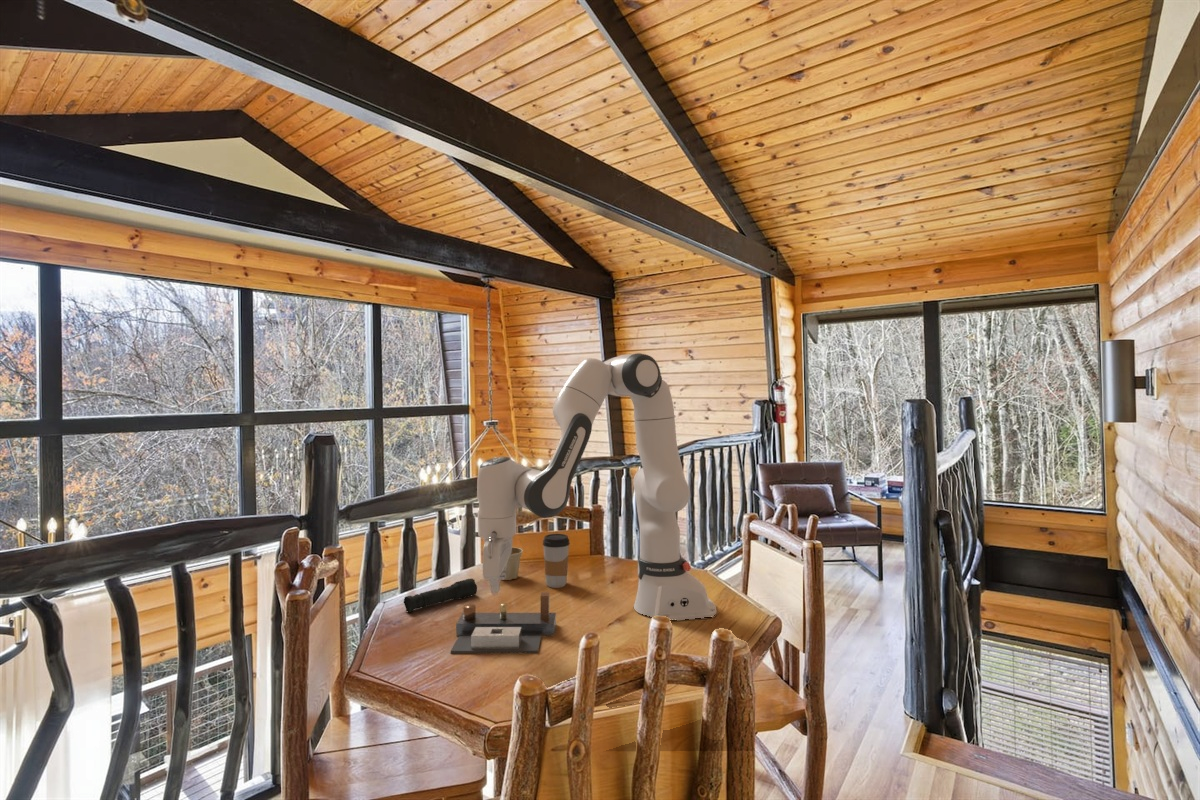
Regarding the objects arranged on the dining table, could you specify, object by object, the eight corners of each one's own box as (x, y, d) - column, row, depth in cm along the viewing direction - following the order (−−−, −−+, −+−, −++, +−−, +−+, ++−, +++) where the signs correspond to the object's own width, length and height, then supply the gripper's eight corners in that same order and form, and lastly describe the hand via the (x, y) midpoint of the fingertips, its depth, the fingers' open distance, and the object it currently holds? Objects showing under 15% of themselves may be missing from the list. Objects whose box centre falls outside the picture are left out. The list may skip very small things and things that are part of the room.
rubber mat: (541, 638, 140) (541, 635, 140) (537, 653, 132) (537, 650, 132) (458, 638, 140) (458, 636, 140) (450, 653, 132) (450, 650, 132)
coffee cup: (565, 590, 174) (565, 540, 174) (539, 588, 176) (539, 539, 176) (572, 581, 183) (572, 534, 182) (547, 579, 184) (547, 532, 184)
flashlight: (477, 597, 169) (477, 580, 169) (411, 616, 155) (411, 597, 155) (468, 592, 173) (468, 576, 173) (402, 611, 158) (402, 593, 158)
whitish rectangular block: (521, 639, 138) (521, 626, 138) (518, 648, 133) (518, 635, 133) (475, 639, 138) (475, 627, 138) (471, 648, 133) (471, 635, 133)
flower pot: (491, 574, 189) (491, 548, 189) (520, 571, 192) (520, 546, 192) (495, 583, 180) (495, 556, 180) (525, 580, 183) (525, 553, 183)
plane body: (555, 624, 149) (555, 589, 149) (553, 635, 142) (553, 599, 142) (462, 624, 149) (462, 589, 149) (456, 635, 142) (456, 599, 142)
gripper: (503, 538, 125) (505, 601, 125) (516, 517, 145) (517, 571, 146) (474, 539, 125) (476, 602, 125) (491, 517, 145) (492, 572, 146)
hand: (498, 585), depth 136 cm, fingers open, 8 cm apart
